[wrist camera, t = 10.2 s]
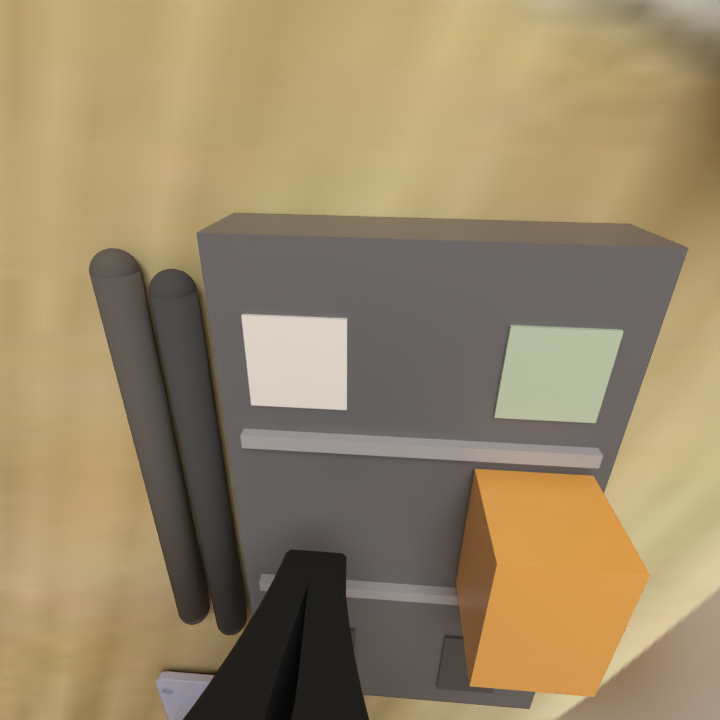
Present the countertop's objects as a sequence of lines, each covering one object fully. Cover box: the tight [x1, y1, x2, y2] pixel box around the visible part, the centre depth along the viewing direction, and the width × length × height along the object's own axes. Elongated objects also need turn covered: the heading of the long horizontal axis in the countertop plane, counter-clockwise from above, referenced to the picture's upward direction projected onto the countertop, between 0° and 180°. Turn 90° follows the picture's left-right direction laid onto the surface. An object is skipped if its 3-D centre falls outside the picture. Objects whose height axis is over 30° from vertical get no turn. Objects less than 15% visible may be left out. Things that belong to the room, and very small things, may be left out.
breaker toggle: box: [456, 469, 650, 697], centre depth 11 cm, size 4×3×3 cm
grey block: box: [197, 213, 688, 709], centre depth 14 cm, size 17×10×3 cm, turn 179°
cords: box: [89, 248, 247, 635], centre depth 15 cm, size 16×3×1 cm, turn 179°
